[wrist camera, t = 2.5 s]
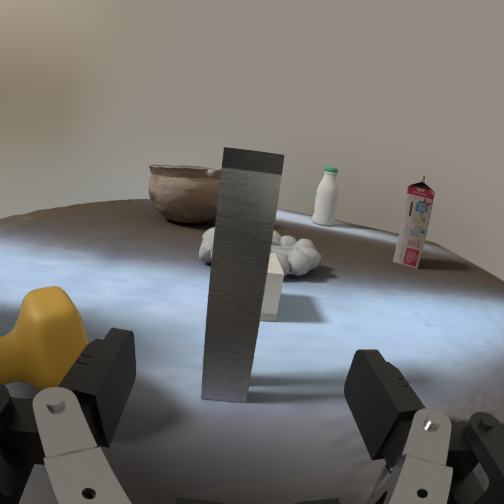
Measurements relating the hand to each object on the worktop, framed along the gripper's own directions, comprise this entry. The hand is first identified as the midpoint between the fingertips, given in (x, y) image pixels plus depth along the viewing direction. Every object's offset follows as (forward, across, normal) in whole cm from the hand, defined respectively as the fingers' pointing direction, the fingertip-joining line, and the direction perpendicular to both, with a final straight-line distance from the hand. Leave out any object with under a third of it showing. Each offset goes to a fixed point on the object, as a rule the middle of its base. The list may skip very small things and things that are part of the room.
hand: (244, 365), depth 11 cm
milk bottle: (+98, -31, +10) cm, 103 cm away
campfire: (+46, -5, +11) cm, 47 cm away
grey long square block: (+11, 0, +11) cm, 16 cm away
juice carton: (+58, -44, +11) cm, 74 cm away
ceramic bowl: (+76, +13, +10) cm, 77 cm away
